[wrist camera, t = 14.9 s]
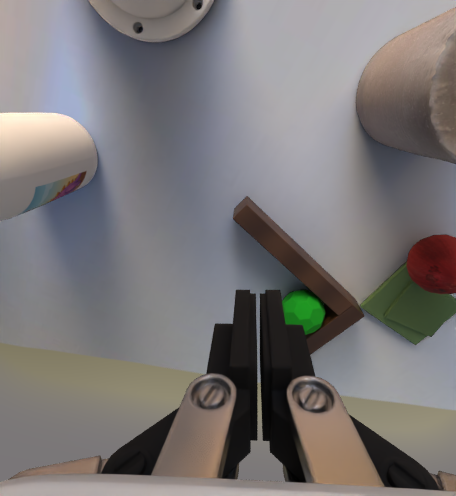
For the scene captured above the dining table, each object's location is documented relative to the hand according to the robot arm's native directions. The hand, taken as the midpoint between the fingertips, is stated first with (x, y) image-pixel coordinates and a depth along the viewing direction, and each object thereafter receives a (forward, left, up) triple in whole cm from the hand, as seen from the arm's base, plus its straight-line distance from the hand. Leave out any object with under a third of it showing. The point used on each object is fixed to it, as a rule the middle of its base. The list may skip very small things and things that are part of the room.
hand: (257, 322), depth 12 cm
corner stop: (+9, -8, -23) cm, 26 cm away
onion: (+18, +8, -23) cm, 31 cm away
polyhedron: (+14, -6, -23) cm, 28 cm away
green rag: (+23, +3, -23) cm, 33 cm away
